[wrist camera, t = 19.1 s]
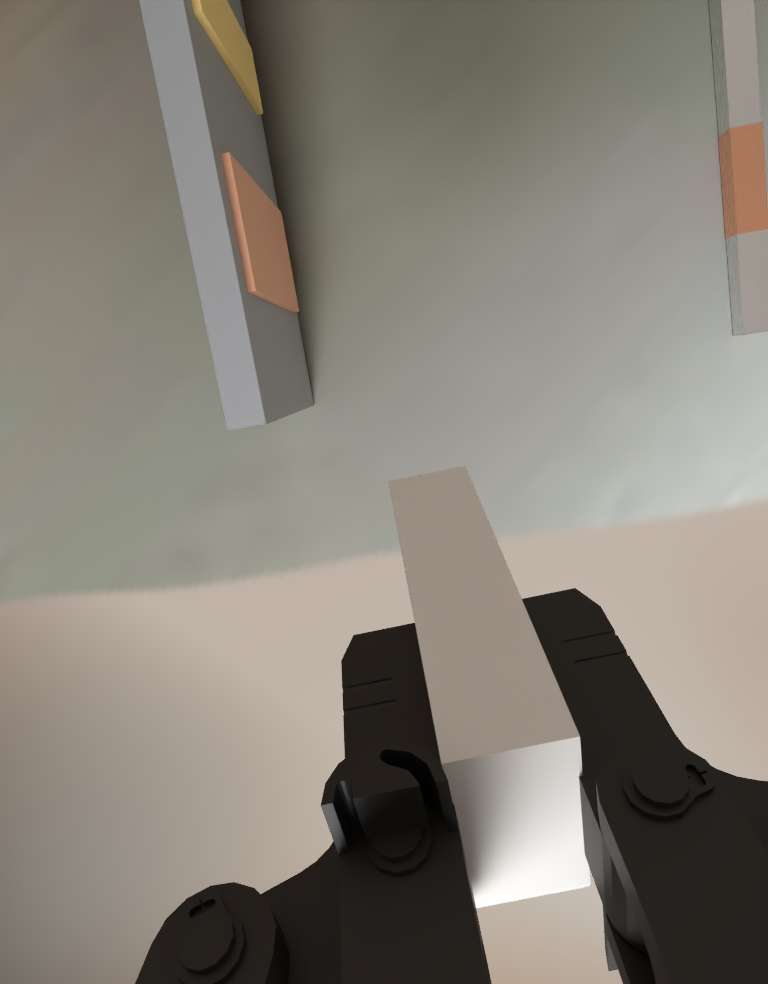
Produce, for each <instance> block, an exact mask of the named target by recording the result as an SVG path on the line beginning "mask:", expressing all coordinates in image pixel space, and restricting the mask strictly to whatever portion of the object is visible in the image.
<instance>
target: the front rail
mask: <svg viewBox="0 0 768 984" xmlns="http://www.w3.org/2000/svg"><path fill="white" fill-rule="evenodd" d="M709 11H710V25H711V39H712V52H713V66H714V80H715V94H716V108H717V122H718V135H719V137H718V142H719V156H720V170H721V184H722V198H723V212H724V225H725V239H726V246H727V260H728V274H729V288H730V301H731V315H732V329H733V336H738V335H747V334H753V333H759V332H765V331H768V206H767V190H766V174H765V158H764V141H763V125H762V122H761V110H760V94H759V78H758V61H757V45H756V29H755V13H754V0H709Z"/></svg>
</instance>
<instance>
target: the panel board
mask: <svg viewBox="0 0 768 984" xmlns="http://www.w3.org/2000/svg"><path fill="white" fill-rule="evenodd" d="M139 3H140V7H141V12H142V17H143V22H144V27H145V32H146V37H147V41H148V46H149V51H150V56H151V61H152V66H153V71H154V75H155V80H156V85H157V90H158V95H159V100H160V105H161V110H162V114H163V119H164V124H165V129H166V134H167V139H168V144H169V148H170V153H171V158H172V163H173V168H174V173H175V178H176V182H177V187H178V192H179V197H180V202H181V207H182V212H183V216H184V221H185V226H186V231H187V236H188V241H189V246H190V251H191V255H192V260H193V265H194V270H195V275H196V280H197V285H198V289H199V294H200V299H201V304H202V309H203V314H204V319H205V323H206V328H207V333H208V338H209V343H210V348H211V353H212V358H213V362H214V367H215V372H216V377H217V382H218V387H219V392H220V396H221V401H222V406H223V411H224V416H225V421H226V426H227V430H233V429H239V428H245V427H251V426H258V425H264V424H268V423H270V422H273V421H275V420H278V419H280V418H283V417H285V416H288V415H290V414H293V413H295V412H298V411H301V410H303V409H306V408H308V407H311V406H313V405H314V402H313V397H312V391H311V386H310V380H309V375H308V369H307V364H306V358H305V353H304V347H303V342H302V336H301V331H300V325H299V320H298V314H297V312H298V311H299V307H298V302H297V296H296V291H295V285H294V280H293V274H292V269H291V263H290V258H289V252H288V246H287V241H286V235H285V230H284V224H283V219H282V213H281V211H280V210H279V209H278V204H277V199H276V193H275V188H274V182H273V177H272V171H271V166H270V160H269V155H268V149H267V144H266V138H265V133H264V127H263V122H262V116H261V114H263V109H262V103H261V98H260V92H259V87H258V81H257V76H256V70H255V65H254V59H253V53H252V49H251V47H250V45H249V43H248V39H247V34H246V28H245V23H244V17H243V12H242V6H241V1H240V0H139Z"/></svg>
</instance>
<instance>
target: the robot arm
mask: <svg viewBox="0 0 768 984" xmlns="http://www.w3.org/2000/svg"><path fill="white" fill-rule="evenodd" d="M389 488H390V493H391V498H392V504H393V509H394V514H395V519H396V525H397V530H398V535H399V541H400V546H401V551H402V557H403V562H404V567H405V573H406V578H407V583H408V589H409V594H410V599H411V605H412V609H413V615H414V621H415V623H412V624H407V625H402V626H397V627H392V628H387V629H382V630H378V631H373V632H368V633H363V634H357V635H354V636H353V638H352V640H351V642H350V644H349V646H348V648H347V650H346V653H345V654H344V657H343V659H342V687H343V710H344V742H345V759H344V760H343V761H342V762H340V763H339V764H338V765H337V767H336V768H335V770H334V771H333V773H332V774H331V776H330V778H329V779H328V780H327V782H326V784H325V789H324V793H323V798H322V803H321V807H322V810H323V813H324V815H325V818H326V821H327V824H328V827H329V829H330V832H331V835H332V838H333V840H334V841H333V843H332V845H331V846H330V848H329V849H328V850H327V851H326V852H325V853H324V854H323V855H322V856H321V857H320V858H319V859H318V860H317V861H316V862H315V863H313V864H312V865H310V866H309V867H308V868H306V869H305V870H303V871H302V872H301V873H299V874H297V875H295V876H293V877H291V878H290V879H288V880H286V881H284V882H283V883H280V884H279V885H277V886H275V887H273V888H271V889H270V890H268V891H266V892H264V893H262V894H259V892H257V891H256V889H255V888H252V887H248V886H245V885H241V884H238V883H234V882H233V883H226V884H220V885H214V886H210V887H208V888H206V889H204V890H202V891H200V892H198V893H196V894H195V895H193V896H191V897H189V898H187V899H186V900H185V901H184V902H183V903H182V904H181V905H180V906H179V907H178V908H177V909H176V910H175V911H174V912H173V913H172V914H171V915H170V916H169V917H168V918H167V919H166V920H165V922H164V924H163V926H162V927H161V929H160V931H159V932H158V934H157V936H156V938H155V939H154V941H153V943H152V945H151V947H150V949H149V952H148V954H147V956H146V959H145V961H144V964H143V966H142V969H141V971H140V973H139V976H138V978H137V981H136V983H135V984H491V980H490V974H489V969H488V964H487V959H486V955H485V950H484V945H483V941H482V936H481V931H480V926H479V921H478V916H477V911H476V908H480V907H485V906H490V905H495V904H501V903H506V902H511V901H516V900H521V899H526V898H532V897H536V896H542V895H547V894H552V893H557V892H563V891H568V890H573V889H578V888H583V887H588V886H590V872H589V867H590V870H591V873H592V876H593V878H594V881H595V884H596V887H597V889H598V892H599V895H600V898H601V900H602V903H603V914H604V915H603V916H604V933H605V949H606V956H607V963H608V970H609V971H611V970H617V969H618V970H619V973H620V976H621V979H622V982H623V984H768V782H767V781H758V780H752V779H747V778H742V777H736V776H734V775H731V774H728V773H726V772H723V771H720V770H718V769H716V768H714V767H712V766H710V765H709V763H708V762H707V761H706V760H705V759H703V758H701V757H700V756H698V755H696V754H695V753H693V752H691V751H690V750H688V749H687V748H686V747H684V745H683V744H682V743H681V741H680V740H679V739H678V737H677V736H676V735H675V733H674V732H673V730H672V728H671V727H670V725H669V723H668V722H667V720H666V718H665V717H664V715H663V713H662V711H661V709H660V708H659V706H658V704H657V703H656V701H655V699H654V697H653V696H652V694H651V692H650V691H649V689H648V687H647V685H646V684H645V682H644V680H643V679H642V677H641V675H640V674H639V672H638V670H637V668H636V667H635V665H634V663H633V662H632V660H631V658H630V656H628V655H627V653H626V649H625V648H624V646H623V644H622V643H621V641H620V639H619V637H618V636H617V635H615V632H614V629H613V627H612V625H611V624H610V622H609V620H608V619H607V617H606V615H605V613H604V612H603V610H602V608H601V607H600V606H599V605H598V604H596V603H595V602H594V601H592V600H591V599H589V598H588V597H587V596H585V595H584V594H582V593H581V592H580V591H578V590H577V589H575V588H574V589H569V590H564V591H560V592H555V593H549V594H544V595H540V596H535V597H530V598H525V599H521V596H520V594H519V592H518V589H517V587H516V585H515V582H514V580H513V578H512V575H511V573H510V570H509V568H508V566H507V563H506V561H505V559H504V556H503V554H502V552H501V549H500V547H499V545H498V542H497V540H496V537H495V535H494V533H493V530H492V528H491V526H490V523H489V521H488V519H487V516H486V514H485V512H484V509H483V507H482V504H481V502H480V500H479V497H478V495H477V493H476V490H475V488H474V486H473V483H472V481H471V479H470V476H469V474H468V472H467V469H466V467H465V466H462V467H457V468H453V469H448V470H443V471H438V472H433V473H428V474H423V475H419V476H414V477H409V478H404V479H399V480H394V481H390V482H389Z"/></svg>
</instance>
